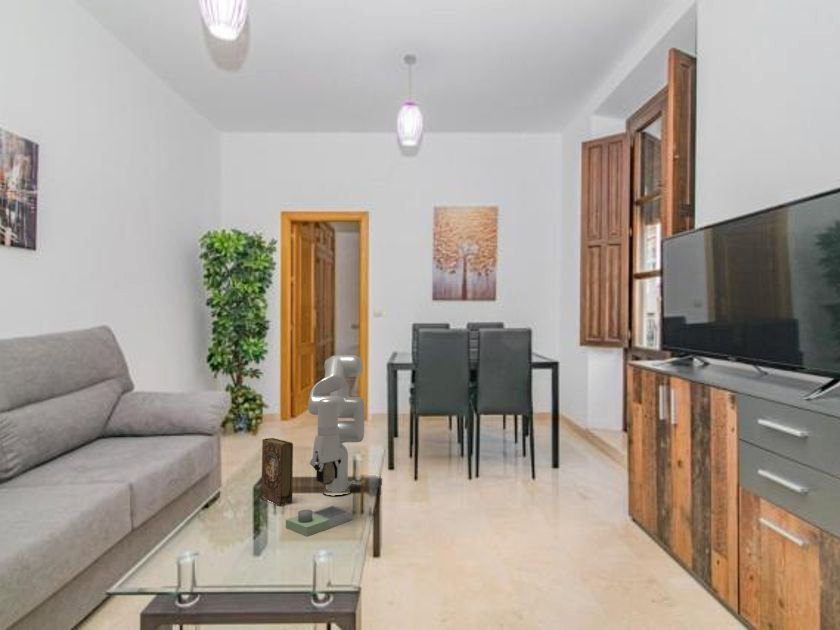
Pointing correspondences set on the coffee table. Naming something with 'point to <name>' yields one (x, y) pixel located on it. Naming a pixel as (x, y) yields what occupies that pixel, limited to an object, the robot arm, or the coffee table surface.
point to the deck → (307, 523)
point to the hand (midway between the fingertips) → (327, 479)
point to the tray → (334, 515)
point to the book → (277, 470)
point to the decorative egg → (328, 473)
